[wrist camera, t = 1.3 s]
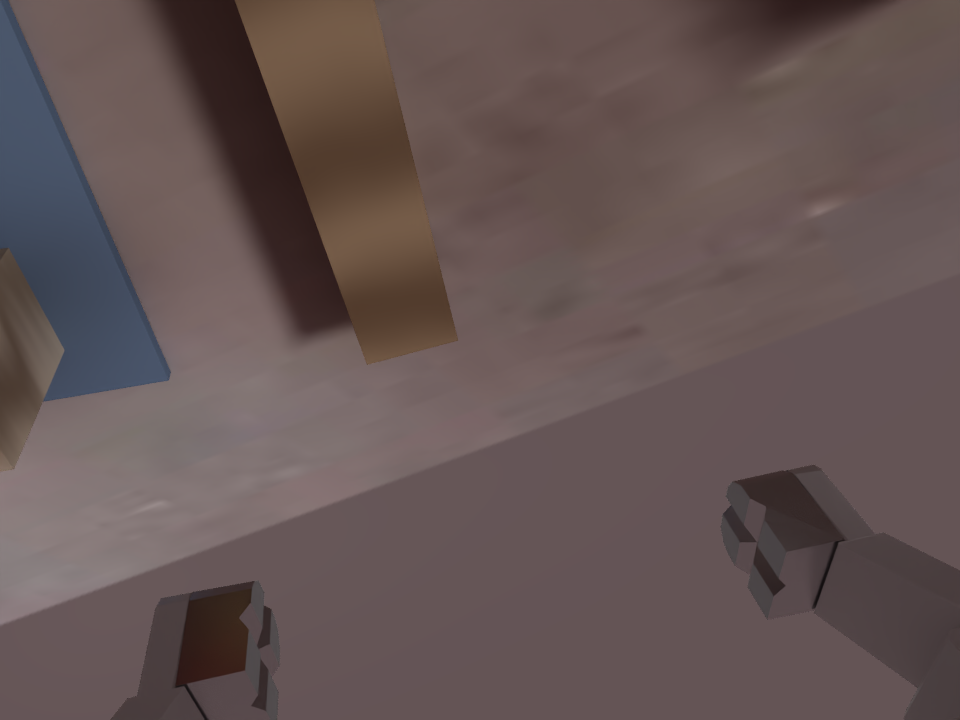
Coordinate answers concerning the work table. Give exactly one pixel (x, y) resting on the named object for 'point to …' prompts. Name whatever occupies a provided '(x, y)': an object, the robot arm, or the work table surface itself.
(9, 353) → the pillar
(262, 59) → the beam
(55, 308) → the board
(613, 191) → the work table surface
